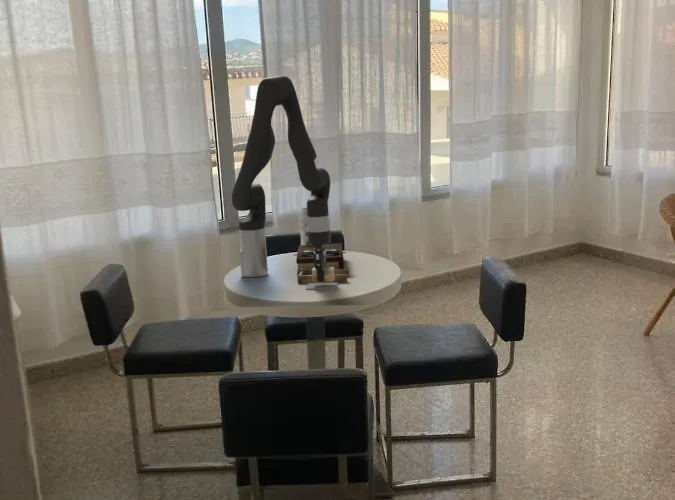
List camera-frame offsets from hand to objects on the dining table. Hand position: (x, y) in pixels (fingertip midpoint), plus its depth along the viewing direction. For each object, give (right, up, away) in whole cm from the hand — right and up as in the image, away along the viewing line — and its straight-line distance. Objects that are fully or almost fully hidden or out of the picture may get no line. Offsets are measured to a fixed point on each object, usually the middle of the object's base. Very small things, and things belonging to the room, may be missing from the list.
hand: (321, 279), depth 238 cm
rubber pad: (0, -2, +1) cm, 3 cm away
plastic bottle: (-6, +6, +46) cm, 47 cm away
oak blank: (+1, 0, 0) cm, 1 cm away
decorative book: (-1, +3, +29) cm, 29 cm away
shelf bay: (+1, 0, +10) cm, 10 cm away
